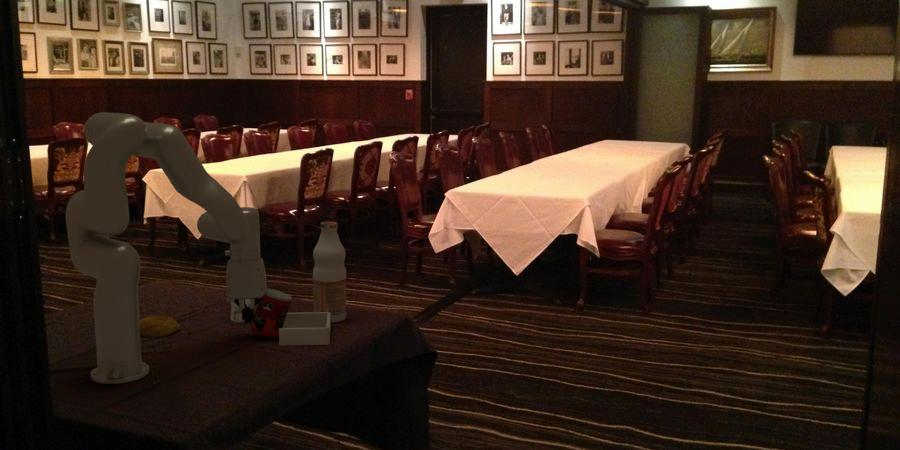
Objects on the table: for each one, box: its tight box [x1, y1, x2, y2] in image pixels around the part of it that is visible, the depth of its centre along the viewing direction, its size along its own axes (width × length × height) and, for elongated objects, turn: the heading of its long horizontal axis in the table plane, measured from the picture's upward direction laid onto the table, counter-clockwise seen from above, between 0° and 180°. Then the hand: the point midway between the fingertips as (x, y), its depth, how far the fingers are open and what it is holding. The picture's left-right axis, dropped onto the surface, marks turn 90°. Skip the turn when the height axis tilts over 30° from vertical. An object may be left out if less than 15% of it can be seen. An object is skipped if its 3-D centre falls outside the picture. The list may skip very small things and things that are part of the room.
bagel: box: [139, 315, 181, 338], centre depth 220 cm, size 10×11×5 cm
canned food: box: [250, 288, 293, 338], centre depth 217 cm, size 8×8×11 cm
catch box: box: [278, 311, 332, 347], centre depth 219 cm, size 15×13×4 cm
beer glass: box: [230, 299, 250, 323], centre depth 232 cm, size 7×7×15 cm
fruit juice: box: [312, 221, 347, 324], centre depth 233 cm, size 9×9×28 cm
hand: (248, 322), depth 217 cm, fingers closed
